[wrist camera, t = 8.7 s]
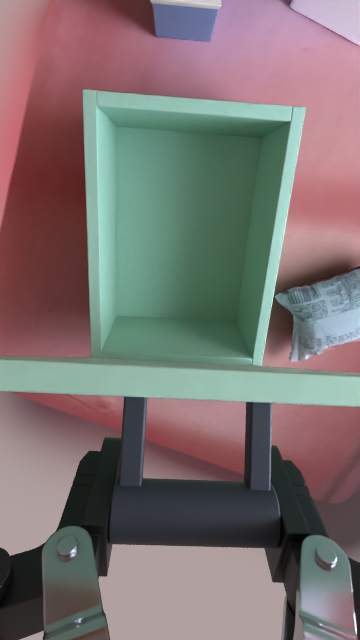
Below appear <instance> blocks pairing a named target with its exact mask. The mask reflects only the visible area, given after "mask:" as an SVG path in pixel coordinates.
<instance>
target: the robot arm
mask: <svg viewBox="0 0 360 640" xmlns="http://www.w3.org/2000/svg"><path fill="white" fill-rule="evenodd" d="M120 453H121V438H112V437H105V438H104V441H103V445H102V449H101V451H89V452H88V453H87V454H86V455H85V456H84V457H83V458H82V460H81V461H80V463H79V466H78V469H77V472H76V476H75V478H74V481H73V485H72V487H71V490H70V493H69V496H68V499H67V502H66V505H65V508H64V511H63V514H62V517H61V520H60V523H59V526H58V528H57V530H56V532H55V533H53V534H52V535H51V536H50V537H49V539H48V540H47V541H46V542H45V543H44V544H42V545H41V546H39V547H37V548H35V549H32V550H29V551H25V552H22V553H19V554H15V555H12V556H9V554H8V552H7V551H6V550H4V549H2V548H0V640H19V639H22V638H25V637H28V636H30V635H33V634H36V633H38V632H41V631H44V636H43V640H110V636H109V630H108V624H107V620H106V615H105V613H104V611H103V607H102V600H101V594H100V588H99V582H98V579H99V576H107V573H108V567H109V561H110V555H111V549H112V544H110V543H109V540H108V523H109V512H110V503H111V496H112V490H113V486H114V482H115V480H116V478H118V477H119V468H120ZM271 485H272V486H273V487H274V489H275V492H276V495H277V498H278V502H279V508H280V515H281V535H280V541H279V544H278V546H277V547H276V548H265V552H266V556H267V561H268V565H269V569H270V573H271V577H272V581H273V582H280V583H281V582H282V583H284V587H285V591H286V596H285V600H284V610H283V625H282V640H360V563H359V562H357V561H354V560H352V559H351V558H349V557H347V555H346V554H345V552H344V551H343V550H342V548H341V547H340V546H339V545H338V544H337V543H335V542H334V541H333V540H331V539H330V538H329V536H328V534H327V532H326V529H325V527H324V525H323V523H322V520H321V518H320V515H319V513H318V511H317V508H316V506H315V504H314V501H313V499H312V497H311V496H310V492H309V490H308V487H307V486H306V483H305V480H304V478H303V476H302V473H301V471H300V470H299V469H298V468H297V467H296V466H295V465H294V464H293V463H292V461H289V460H282V457H281V454H280V452H279V449H278V447H277V446H273V445H271Z"/></svg>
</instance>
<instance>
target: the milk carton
mask: <svg viewBox="0 0 360 640" xmlns="http://www.w3.org/2000/svg"><path fill="white" fill-rule="evenodd" d="M290 7H291V8H292V9H294V10H295V11H297V12H299V13H301V14H303V15H304V16H306V17H308V18H310V19H312V20H313V21H315V22H317V23H319V24H321V25H323V26H324V27H326V28H328V29H330V30H332V31H334V32H335V33H337V34H339V35H341V36H343V37H344V38H346V39H348V40H350V41H352V42H354V43H355V44H357V45H360V0H292V1H291V3H290Z"/></svg>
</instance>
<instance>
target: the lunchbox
mask: <svg viewBox="0 0 360 640" xmlns="http://www.w3.org/2000/svg"><path fill="white" fill-rule="evenodd" d="M82 96H83V127H84V157H85V187H86V217H87V247H88V277H89V308H90V338H91V358H108V359H128V360H149V361H169V362H190V363H210V364H231V365H251V366H261V365H262V360H263V354H264V348H265V342H266V336H267V331H268V325H269V319H270V313H271V307H272V302H273V296H274V290H275V284H276V278H277V273H278V267H279V261H280V255H281V249H282V244H283V238H284V232H285V226H286V220H287V215H288V209H289V203H290V197H291V191H292V186H293V180H294V174H295V168H296V162H297V157H298V151H299V145H300V139H301V133H302V128H303V122H304V116H305V110H306V108H305V107H296V106H294V107H292V106H283V105H270V104H258V103H246V102H233V101H221V100H209V99H196V98H184V97H172V96H159V95H147V94H135V93H122V92H110V91H96V90H87V89H82Z"/></svg>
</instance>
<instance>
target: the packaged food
mask: <svg viewBox="0 0 360 640" xmlns="http://www.w3.org/2000/svg"><path fill="white" fill-rule="evenodd" d="M275 298H276V301H278V302H279V303H280V304H281V305H283V306H284V307H285V308H286V309H288V310H289V311H290V312H291V313H292V314H293V321H294V326H293V335H292V350H291V352H290V357H289V360H290V361H292V362H298V361H303V360H307V359H308V358H309V357H310V356H311V355H319V354H321V353H323V352H325V351H328V350H331V349H333V348H335V347H337V346H339V345H340V344H343V343H351V342H355V341H360V266H359V267H356V268H353V269H351V270H348V271H346V272H344V273H340V274H338V275H336V276H334V277H332V278H328V279H323V280H319V281H315V282H312V283H309V284H302V285H299V286H298V287H293V288H290V289H287V290H284V291H282V292H280V293H279V294H277V295H276V296H275Z"/></svg>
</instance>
